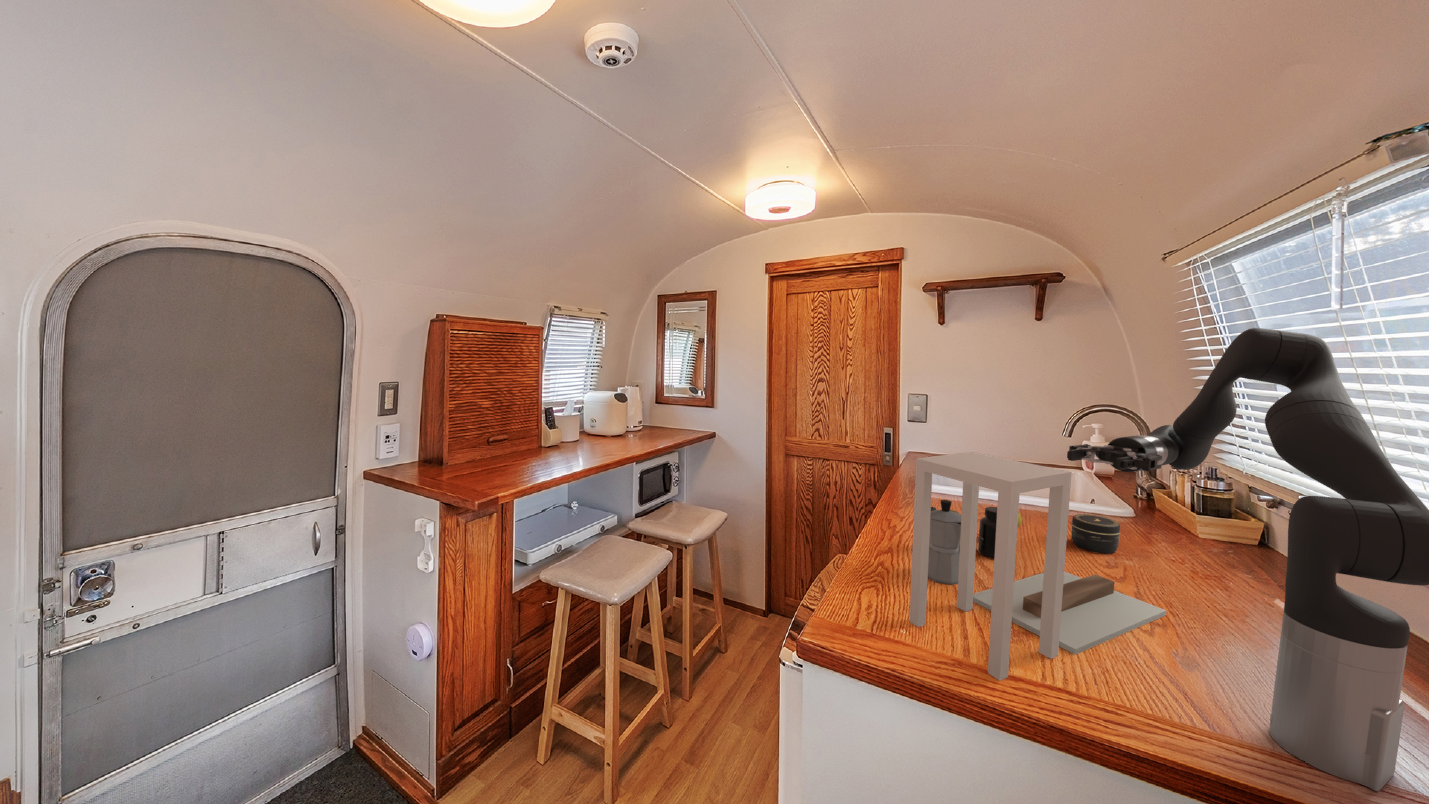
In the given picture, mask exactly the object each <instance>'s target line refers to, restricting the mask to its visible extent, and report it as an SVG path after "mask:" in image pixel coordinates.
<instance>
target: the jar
mask: <svg viewBox="0 0 1429 804" xmlns="http://www.w3.org/2000/svg"><path fill="white" fill-rule="evenodd" d="M1120 535H1121V525H1120V523H1119V522H1118V521H1116V520H1114V519H1112V518H1108V517H1105V516H1099V515H1094V514H1087V513H1086V514H1085V513H1083V514H1081V513H1080V514H1079V513H1078V514H1075V515H1073V516H1072V519H1071V541H1072V543H1073V545H1074V546H1075V547H1076V548H1079V549H1081V550H1084V551H1087V552H1091V553H1095V554H1101V555H1102V554H1104V555H1111V554H1114V553H1115V552H1117V549H1118V547H1119V543H1120V542H1119V541H1120Z"/></svg>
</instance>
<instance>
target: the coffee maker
mask: <svg viewBox="0 0 1429 804" xmlns="http://www.w3.org/2000/svg"><path fill="white" fill-rule="evenodd" d="M952 503H953V502H952V501H951V500H949V499H941V500H940V507H941V509H937V507H935V506H931V514H930V537H929V559H928V580H931V581H932V582H934V583H936V584H937V583H938V584H944V585H948V586H953V585H954V586H955V585H958V574H959V546H960V535H961V515H962V513H960V512H958V513H956V512H952V511H950V510H951V507H952V506H951V505H952ZM959 513H960V514H959Z"/></svg>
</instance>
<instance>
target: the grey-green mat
mask: <svg viewBox="0 0 1429 804" xmlns="http://www.w3.org/2000/svg"><path fill="white" fill-rule="evenodd" d="M1082 578H1083V577H1080V576H1078V575H1075V574H1072V573H1069V572H1067V571H1065V570H1064V582H1063V584H1066V583H1069V582H1072V581H1075V580H1079V579H1082ZM1043 580H1044V572H1041V573H1038V574H1034V575H1031V576H1027V577H1025V578H1021V579H1018V580H1014V591H1013V607H1012V623H1014V624H1015V625H1017V626H1020V627H1021V628H1023V629H1025V630H1027V631H1029V632H1031V633H1033V634H1035V635H1036V636H1039V637H1040V623H1041V618H1039V617H1037V616H1035V615H1033V614H1031V613H1029V612H1027V611H1025V610H1023V597H1025V596H1028V595H1031V594H1034V593H1037V592H1041V591H1043ZM992 592H993V587H991V588H988V589H985V590H982V591H978V592H975V593H974V592H973V603H974V604H977V605H979V606H980V607H983V608H985V609H987V610H988V611H991V609H992ZM1166 616H1167V610H1166V609H1164V608H1161V607H1158V606H1156V605H1154V604H1150V603H1148V602H1145V601H1143V600H1140V599H1138V598H1135V597H1133V596H1131V595H1127V594H1125V593H1123V592H1119V591H1117V590H1114V593H1113V594H1110V595H1107V596H1105V597H1102V598H1099V599H1096V600H1093V601H1090V602H1088V603H1085V604H1082V605H1079V606H1076V607H1074V608H1071V609H1068V610H1065V611H1062V612H1061V623H1060V637H1059V648H1061V649H1064V650H1065V651H1067V652H1069V653H1071V654H1072V655H1074V656H1075V655H1078V654H1080V653H1083V652H1084V651H1087V650H1089V649H1091V648H1094V647H1096V646H1098V645H1101V644H1103V643H1106V642H1108V641H1111V640H1113V639H1115V638H1117V637H1119V636H1122V635H1124V634H1127V633H1128V632H1130V631H1133V630H1135V629H1138V628H1141V627H1142V626H1144V625H1147V624H1149V623H1151V622H1153V621H1156V620H1158V619H1160V618H1163V617H1166Z"/></svg>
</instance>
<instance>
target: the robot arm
mask: <svg viewBox="0 0 1429 804" xmlns="http://www.w3.org/2000/svg"><path fill="white" fill-rule="evenodd" d="M1337 368H1338V367H1337V365H1336V363H1335V359H1334V356H1333V353H1332V350H1331V349H1330V347H1329V344H1328V343H1327V342H1326V340H1324V339H1322V338H1321V337H1319V336H1317V335H1313V334H1308V333H1303V332H1294V331H1293V332H1292V331H1288V330H1281V329H1273V328H1261V327H1253V328H1252V327H1251V328H1248V329H1246V330H1244V331H1242V332H1241V333H1240V334H1238V336H1236V337H1235V338H1234V339H1233V341H1231V342H1230V343H1229V345H1228V346H1227V348H1226V350H1225V351H1224V353H1223V354H1222V356H1221V357H1220V359H1219V360H1218V362H1217V364H1216V365H1215V366H1214V368H1213V369H1212V371H1211V373H1210V374H1209V376H1208V377H1207V380H1206V381H1205V382H1204V384H1203V386H1202V388H1201V389H1200V391H1199V392H1198V394H1197V395H1196V396H1195V397H1194V399H1193V401H1191V403H1190V404H1189V405H1188V406H1187V407H1186V408H1185V409H1184V410H1183V411H1182V413H1180V414H1179V416H1177V418H1175V420H1174V421H1173V423H1172V424H1165V425H1161V426H1159V427H1157V428H1155V429H1154V430H1152V431H1151V432H1149V433H1148V434H1147V435H1142V434H1138V435H1130V436H1122V437H1120V436H1119V437H1116V438H1114V439H1112V440H1110V441H1109V443H1107V444H1105V445H1091V444H1088V443H1086V444H1077V445H1076V444H1075V445H1069V447H1068V448H1069V450H1068V451H1067V454H1066V459H1067V460H1068V461H1071V462H1074V461H1088V462H1090V463H1094V464H1095V463H1096V464H1097V463H1098V464H1106V465H1110V466H1111V467H1112V468H1114V469H1116V470H1117V471H1119V472H1123V473H1136V472H1141V471H1144V472H1151V471H1155V470H1159V469H1162V466H1166V465H1169V466H1171V468H1174V469H1176V470H1181V471H1187V470H1192V469H1194V468H1196V467H1199V466H1200V465H1201V464H1202V463H1203V462H1205V460H1206V459H1207V457H1208V455H1209V454H1210V451H1211V448H1212V445H1213V443H1214V440H1215V439H1216V438H1217V436H1219V435H1220V434H1221V433H1222V432H1223V431H1224V430H1225V429H1226V428H1228V426H1229V425H1231V424H1232V423H1233V421H1234V419H1235V418H1236V415H1237V409H1238V408H1237V403H1236V402H1237V401H1236V399H1235V396H1234V392H1233V385H1234V383H1235V382H1236V381H1237V380H1239V379H1240V378H1242V379H1247V380H1249V381H1250V380H1251V381H1257V382H1263V383H1268V384H1269V383H1270V384H1274V385H1281V386H1283V387H1286V388H1287V389H1288V390H1290V392H1287V393H1286V394H1285V395H1283V396H1282V397H1280V398H1279V399H1277V400H1276V401H1275V402H1274V403H1273V404H1272V405H1271V406H1270V407H1269V409H1268V410H1267V412H1266V414H1265V417H1264V424H1265V428H1266V432H1267V434H1268V438H1269V439H1270V442H1271V445H1272V447H1273V448H1274V450H1275V452H1276V454H1277V455H1278V456H1279V457H1280V458H1281V459H1282V460H1283V461H1285V462H1286V463H1287V464H1289V465H1290V466H1291V467H1292V468H1294V469H1296V470H1297V471H1299V472H1301V473H1302V474H1304V475H1305V476H1306V477H1308V478H1310V479H1312V480H1314V481H1316V482H1318V483H1320V484H1321V485H1323V486H1325V487H1326V488H1329V489H1330V490H1331V491H1334V492H1335V493H1336V494H1339V495H1340V496H1342V497H1343V498H1340V497H1330V496H1323V495H1322V496H1321V495H1305V496H1304V495H1303V496H1302V497H1300V498H1299V499H1298V500H1296V502H1295V503H1294V504H1293V505H1292V508H1291V510H1290V512H1289V513H1290V514H1289V518H1288V526H1287V527H1288V528H1287V554H1286V555H1287V557H1286V558H1287V562H1286V572H1285V573H1286V574H1285V584H1284V585H1285V587H1284V588H1285V590H1284V605H1283V606H1284V607H1283V614H1282V623H1281V628H1280V629H1281V630H1280V637H1279V638H1280V640H1279V645H1278V646H1279V647H1278V648H1279V649H1278V655H1277V663H1276V664H1277V665H1276V671H1275V677H1274V679H1275V680H1274V686H1273V687H1274V688H1273V694H1272V703H1271V713H1270V716H1269V717H1270V718H1269V720H1270V721H1269V729H1268V730H1269V734H1270V736H1271V738H1272V739H1273V740H1274V741H1275V742H1276V744H1278V745H1279V746H1280V747H1281V748H1283V750H1284V751H1287V752H1289V753H1290V754H1291V755H1292V754H1293V756H1294V757H1295V756H1296V758H1297V757H1298V758H1297V759H1299V760H1300V761H1302V760H1304V761H1305V762H1304V761H1303V762H1304V763H1306V764H1308V763H1309V764H1308V765H1311V766H1312V767H1314V768H1316V769H1317V770H1320V771H1322V772H1324V773H1327V774H1330V775H1333V776H1335V777H1338V778H1341V779H1343V780H1346V781H1349V782H1353V783H1357V784H1360V785H1363V786H1365V787H1368V788H1369V789H1371V790H1373V791H1375V792H1380V791H1381V790H1382V789H1383V787H1384V786H1385V785H1386V784H1387V783H1388V782H1389V780H1390V779H1391V778H1392V777H1393V776H1394V775H1395V772H1396V771H1395V770H1396V767H1397V759H1398V752H1399V747H1400V746H1399V745H1400V740H1401V739H1400V737H1401V732H1402V725H1403V718H1404V713H1405V705H1406V704H1405V703H1406V702H1405V701H1404V700H1402V699H1401V693H1402V686H1403V679H1404V671H1405V665H1406V660H1407V659H1406V658H1407V653H1408V647H1409V646H1408V645H1409V641H1410V634H1411V632H1410V631H1411V629H1410V626H1409V622H1408V621H1407V620H1406V618H1404V617H1403V616H1402V615H1400V614H1399V613H1397V612H1396V611H1393V610H1391V609H1390V608H1388V607H1386V606H1384V605H1382V604H1379V603H1376V602H1374V601H1372V600H1370V599H1368V598H1364V597H1362V596H1360V595H1358V594H1355V593H1353V592H1350V591H1348V590H1347V589H1345V588H1343V587H1341V586H1339V585H1338V584H1337V580H1336V579H1337V574H1338V575H1339V574H1340V575H1346V576H1351V577H1358V578H1363V579H1369V580H1376V581H1381V582H1387V583H1394V584H1400V585H1408V586H1429V509H1428V507H1427V506H1426V504H1425V503H1423V501H1422V500H1421V499H1420V498H1419V497H1418V496H1417V494H1416V493H1415V492H1414V491H1413V490H1412V489H1411V488H1410V486H1409V485H1408V484H1407V483H1406V482H1405V481H1404V479H1402V476H1400V475H1399V474H1398V472H1397V470H1396V469H1395V468H1394V467H1393V465H1392V463H1390V461H1389V460H1388V458H1387V457H1386V455H1385V454H1384V452H1383V449H1381V446H1379V444H1378V442H1377V439H1376V438H1375V435H1374V433H1373V431H1372V430H1371V428H1370V426H1369V425H1368V423H1367V421H1366V420H1365V418H1364V417H1363V415H1362V413H1361V412H1360V410H1359V409H1358V408H1357V407H1356V404H1355V403H1353V400H1352V399H1351V397H1350V395H1349V394H1348V391H1347V390H1346V388H1345V386H1344V384H1343V382H1342V381H1341V377H1340V375H1339V371H1338V369H1337Z"/></svg>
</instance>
